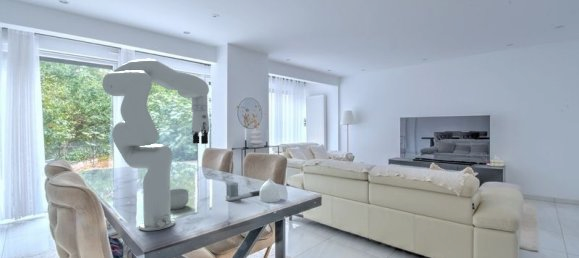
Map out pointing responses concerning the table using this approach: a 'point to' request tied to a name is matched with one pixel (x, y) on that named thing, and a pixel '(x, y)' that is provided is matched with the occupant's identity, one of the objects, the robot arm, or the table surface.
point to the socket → (232, 189)
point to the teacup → (178, 198)
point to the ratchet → (242, 196)
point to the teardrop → (269, 192)
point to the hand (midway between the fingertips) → (200, 143)
